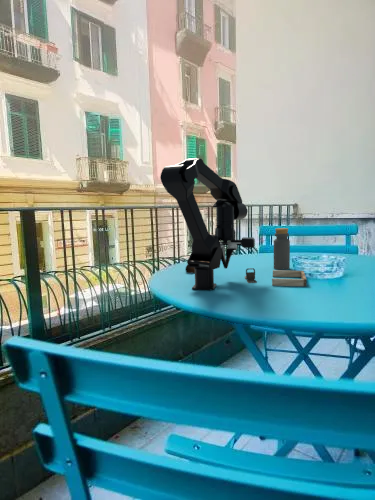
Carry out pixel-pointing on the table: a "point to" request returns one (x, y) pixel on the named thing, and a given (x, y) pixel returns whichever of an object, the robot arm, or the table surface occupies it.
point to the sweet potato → (191, 269)
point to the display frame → (289, 281)
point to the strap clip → (250, 276)
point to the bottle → (281, 249)
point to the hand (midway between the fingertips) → (225, 268)
